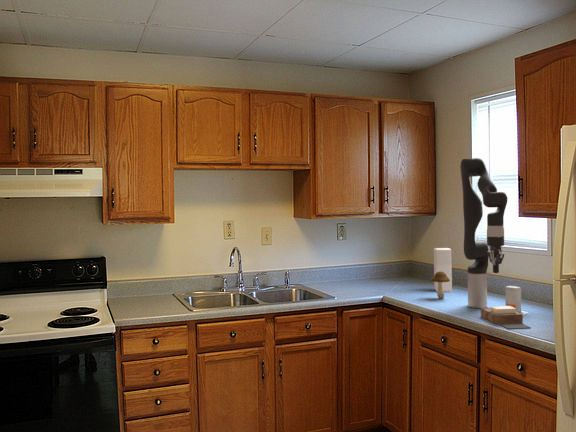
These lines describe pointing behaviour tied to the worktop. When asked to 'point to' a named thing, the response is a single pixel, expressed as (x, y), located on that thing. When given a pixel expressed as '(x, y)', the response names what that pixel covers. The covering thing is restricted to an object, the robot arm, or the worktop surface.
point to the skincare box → (513, 297)
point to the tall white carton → (443, 267)
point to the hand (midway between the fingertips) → (495, 272)
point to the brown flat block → (501, 317)
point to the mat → (514, 326)
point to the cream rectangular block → (503, 309)
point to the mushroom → (440, 282)
